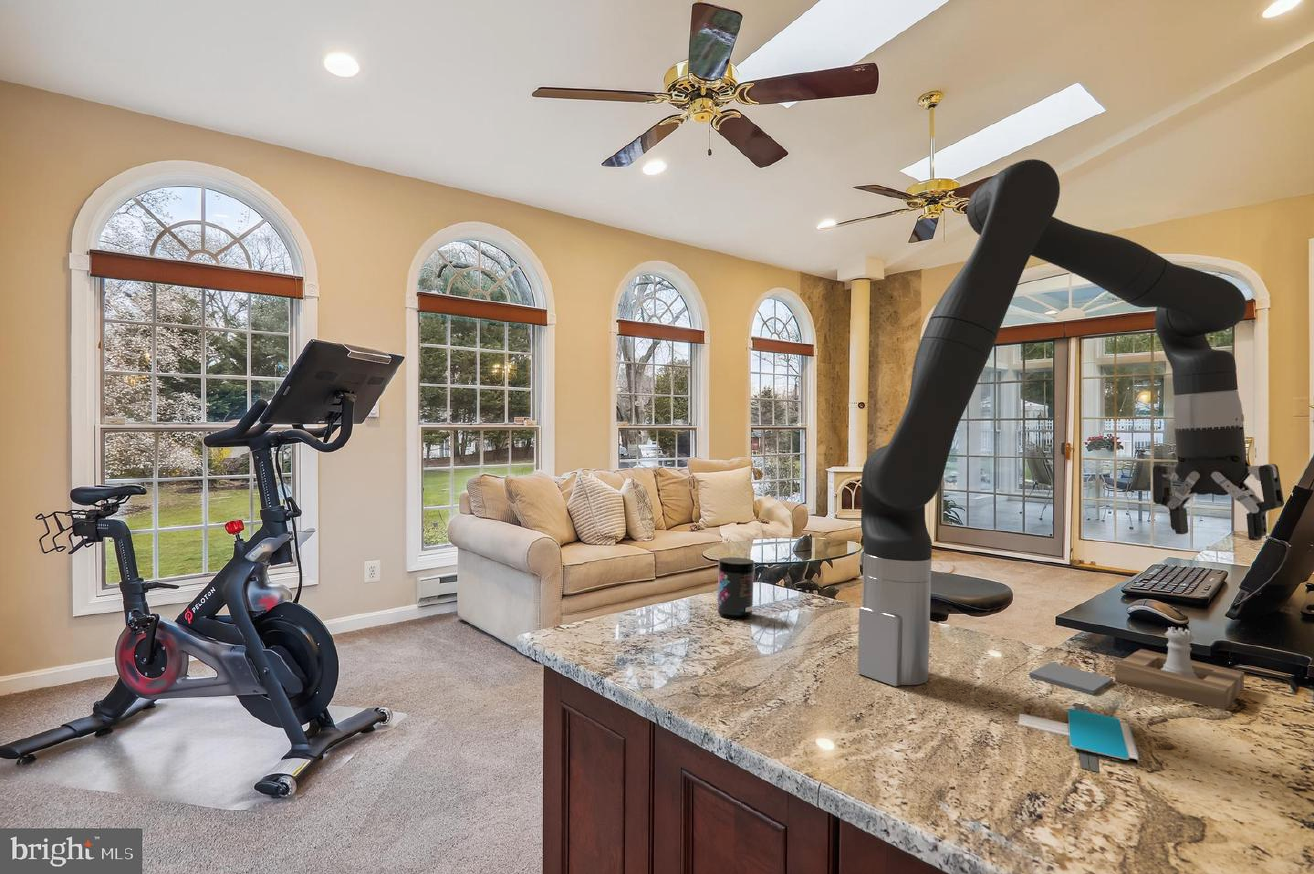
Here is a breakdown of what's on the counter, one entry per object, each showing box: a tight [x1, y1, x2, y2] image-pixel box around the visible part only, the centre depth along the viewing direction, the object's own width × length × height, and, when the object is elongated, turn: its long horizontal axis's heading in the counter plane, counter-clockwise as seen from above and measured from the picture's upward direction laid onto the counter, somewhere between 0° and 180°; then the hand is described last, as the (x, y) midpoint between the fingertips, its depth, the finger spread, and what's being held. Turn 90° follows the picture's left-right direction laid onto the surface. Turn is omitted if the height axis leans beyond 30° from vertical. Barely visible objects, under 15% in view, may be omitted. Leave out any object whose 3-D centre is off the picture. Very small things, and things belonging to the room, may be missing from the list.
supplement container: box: [717, 556, 755, 620], centre depth 121 cm, size 7×7×10 cm
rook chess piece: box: [1161, 626, 1198, 678], centre depth 91 cm, size 4×4×8 cm
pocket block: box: [1114, 648, 1245, 711], centre depth 91 cm, size 12×12×2 cm
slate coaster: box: [1028, 661, 1114, 696], centre depth 92 cm, size 8×8×1 cm
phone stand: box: [1018, 703, 1143, 773], centre depth 74 cm, size 20×12×2 cm, turn 148°
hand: (1217, 536), depth 91 cm, fingers open, 8 cm apart
